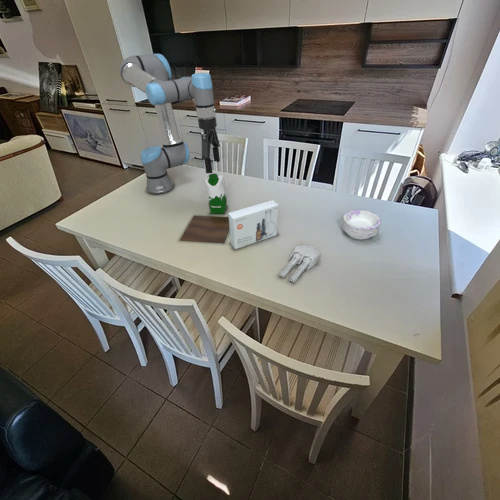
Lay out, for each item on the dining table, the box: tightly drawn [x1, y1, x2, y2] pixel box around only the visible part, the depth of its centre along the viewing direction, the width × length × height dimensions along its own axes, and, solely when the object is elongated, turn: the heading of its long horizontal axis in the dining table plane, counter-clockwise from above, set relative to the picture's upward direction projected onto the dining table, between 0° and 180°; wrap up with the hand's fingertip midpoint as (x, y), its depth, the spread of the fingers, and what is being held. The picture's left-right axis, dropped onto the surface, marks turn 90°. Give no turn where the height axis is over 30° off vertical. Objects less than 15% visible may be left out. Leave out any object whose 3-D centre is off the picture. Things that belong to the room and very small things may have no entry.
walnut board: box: [179, 215, 230, 244], centre depth 130 cm, size 20×20×1 cm
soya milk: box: [204, 173, 227, 215], centre depth 137 cm, size 9×9×20 cm
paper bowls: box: [341, 209, 382, 240], centre depth 120 cm, size 15×15×8 cm
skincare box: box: [227, 199, 280, 250], centre depth 118 cm, size 21×6×16 cm, turn 117°
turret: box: [278, 244, 322, 284], centre depth 107 cm, size 10×20×5 cm, turn 141°
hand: (213, 166), depth 129 cm, fingers open, 13 cm apart
